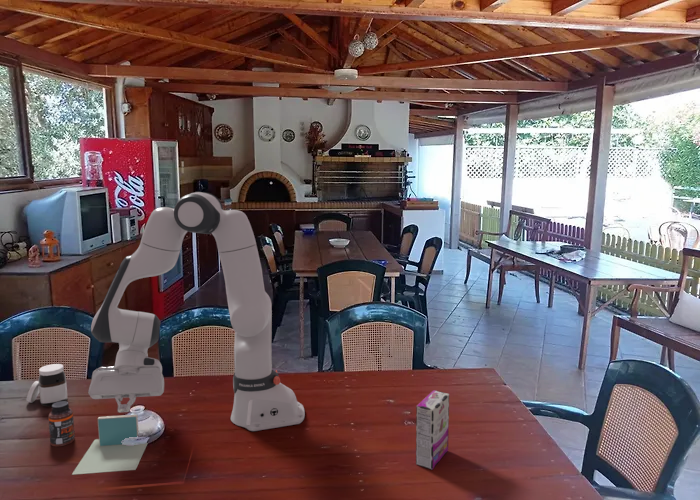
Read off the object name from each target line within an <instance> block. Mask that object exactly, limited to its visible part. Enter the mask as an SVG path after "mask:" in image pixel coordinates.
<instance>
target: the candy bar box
mask: <svg viewBox="0 0 700 500" xmlns="http://www.w3.org/2000/svg"><path fill="white" fill-rule="evenodd" d="M415 409H416V410H415V411H416V412H415V413H416V416H415V419H416V420H415V421H416V422H415V423H416V424H415V426H416V427H415V429H416V432H415V436H416V437H415V439H416V440H415V444H416V445H415V446H416V447H415V465H416V466H419V467H422V468H426V469H429V470H434V468H435V467H436V466H437V464H439V462H440V461H441V459H442V458H443V457H444V456H445V454H446V453H447V452H449V429H450V428H449V420H450V417H449V415H450V393H446V392H443V391H438V390H436V389H435V390H432V391H430V393H428V394H427V395H426V396H425V398H423V399H422V400H421V401H420V402H419V403H418V404H416V408H415Z"/></svg>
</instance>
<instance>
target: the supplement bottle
mask: <svg viewBox="0 0 700 500" xmlns="http://www.w3.org/2000/svg"><path fill="white" fill-rule="evenodd" d="M69 407H70V406H69V402H68V401H67V400H66V401H61V402H56V403H54V404H53V405H52V406H51V411H50V412H49V414H48V430H49V442H50V445H51V446H53V447H54V448H55V447H64V446H67V445H69V444H72V443H73V442H74V440H75V439H76V438H75V437H76V435H75V424H74V423H75V421H74V411H73V409H72V408H69Z"/></svg>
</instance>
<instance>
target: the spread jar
mask: <svg viewBox="0 0 700 500" xmlns="http://www.w3.org/2000/svg"><path fill="white" fill-rule="evenodd" d="M38 372H39V373H38V374H39V375H38V380H35V381H34V382H33V383H32V384H31V386H30V388H29V390H28V392H27V395H26V402H27V403H30V404H31V403H34V402H35V401H36V399H37V398H38V395H39V402H40V404H41V406H44V407H52V405H53V404H54V403H56V402H61V401H66V402H67V400H68V389H67V386H68V385H67V377H66V374H65V371H64V364H61V363H52V364H47V365H43V366H42V367H40V368H39V369H38Z"/></svg>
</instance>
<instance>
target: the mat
mask: <svg viewBox="0 0 700 500" xmlns="http://www.w3.org/2000/svg"><path fill="white" fill-rule="evenodd" d="M148 444H149V442H148V443H146V444H140V445H134V446H126V445H111V446H100V444H99V438H96V439H94V440H93V441H92V443H91V445H90V447H89V448H88V449H87V451H86V452H85V453H84V454H83V457H82V458H81V459H80V461H79V462H78V464H77V466H76V467H75V468H74V470H73V472H72V474H71V475H74V476H75V475H83V474H84V475H85V474H96V473H97V474H98V473H113V472H124V471H125V472H126V471H136V469H137V468H138V465H139V463H140V461H141V458H142V457H143V454H144V453H145V451H146V448H147V446H148Z"/></svg>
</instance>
